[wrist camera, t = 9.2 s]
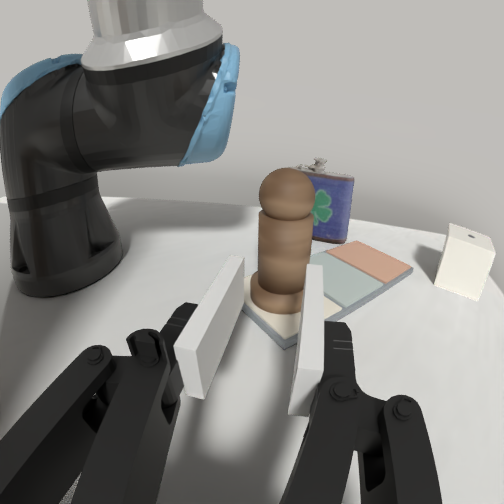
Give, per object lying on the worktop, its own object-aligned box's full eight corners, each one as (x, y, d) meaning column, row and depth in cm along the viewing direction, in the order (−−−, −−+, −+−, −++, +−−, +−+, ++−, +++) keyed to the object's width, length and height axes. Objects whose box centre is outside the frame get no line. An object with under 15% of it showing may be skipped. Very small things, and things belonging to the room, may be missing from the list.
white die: (433, 285, 26) (448, 235, 23) (437, 266, 30) (449, 222, 27) (477, 302, 22) (495, 252, 20) (475, 280, 26) (489, 236, 24)
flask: (347, 239, 37) (357, 161, 32) (343, 247, 34) (353, 163, 30) (285, 226, 40) (289, 153, 36) (277, 233, 38) (281, 154, 33)
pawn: (238, 291, 23) (235, 166, 19) (283, 273, 26) (288, 161, 22) (278, 323, 20) (287, 177, 15) (325, 297, 23) (340, 172, 18)
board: (221, 289, 25) (221, 282, 25) (355, 244, 35) (356, 239, 35) (283, 349, 18) (284, 341, 18) (412, 272, 28) (413, 266, 28)
